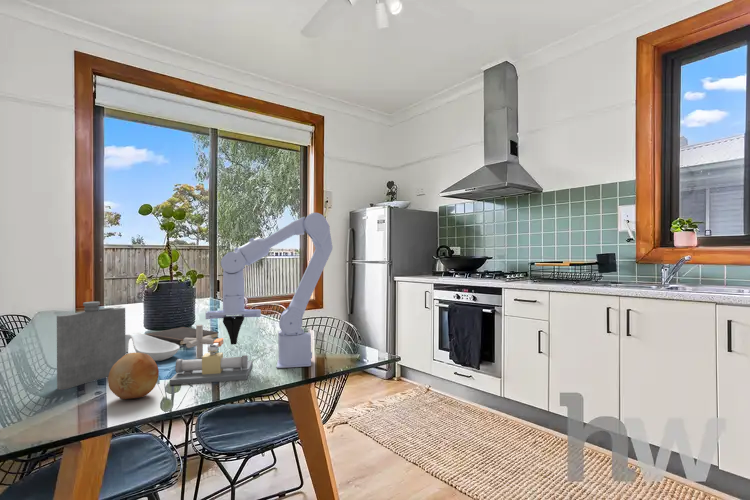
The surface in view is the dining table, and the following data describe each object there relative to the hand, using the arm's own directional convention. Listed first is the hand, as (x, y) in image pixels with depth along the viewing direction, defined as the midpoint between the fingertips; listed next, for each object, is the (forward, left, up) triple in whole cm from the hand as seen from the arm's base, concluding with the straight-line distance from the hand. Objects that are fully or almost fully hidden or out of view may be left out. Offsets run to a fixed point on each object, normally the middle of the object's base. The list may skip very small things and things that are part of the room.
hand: (233, 343), depth 112 cm
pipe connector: (+12, -14, -7) cm, 20 cm away
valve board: (+4, +5, -7) cm, 9 cm away
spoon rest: (+29, -19, -7) cm, 36 cm away
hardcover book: (+26, -48, -8) cm, 55 cm away
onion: (+18, +20, -7) cm, 28 cm away
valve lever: (+4, +3, 0) cm, 5 cm away
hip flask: (+34, +3, -7) cm, 35 cm away
